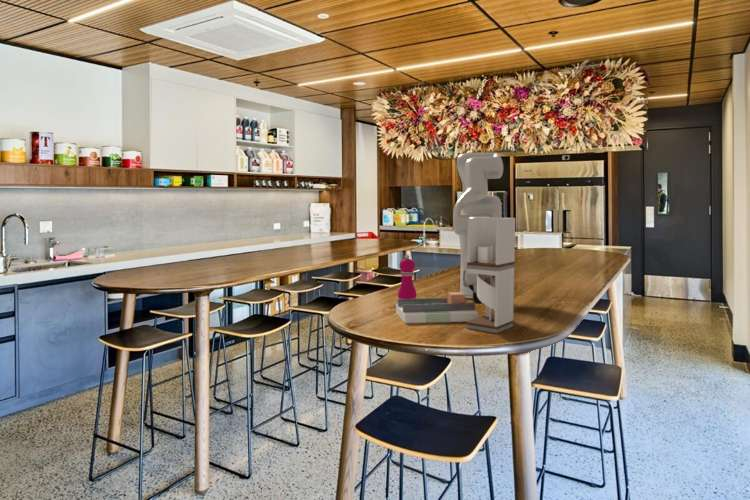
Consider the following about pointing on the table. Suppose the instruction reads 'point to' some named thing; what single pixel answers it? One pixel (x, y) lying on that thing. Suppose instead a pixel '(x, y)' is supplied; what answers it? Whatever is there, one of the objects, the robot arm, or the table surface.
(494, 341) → the table surface
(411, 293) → the pepper mill
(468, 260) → the display case
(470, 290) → the robot arm
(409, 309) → the channel walls
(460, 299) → the terracotta block
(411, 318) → the channel deck
